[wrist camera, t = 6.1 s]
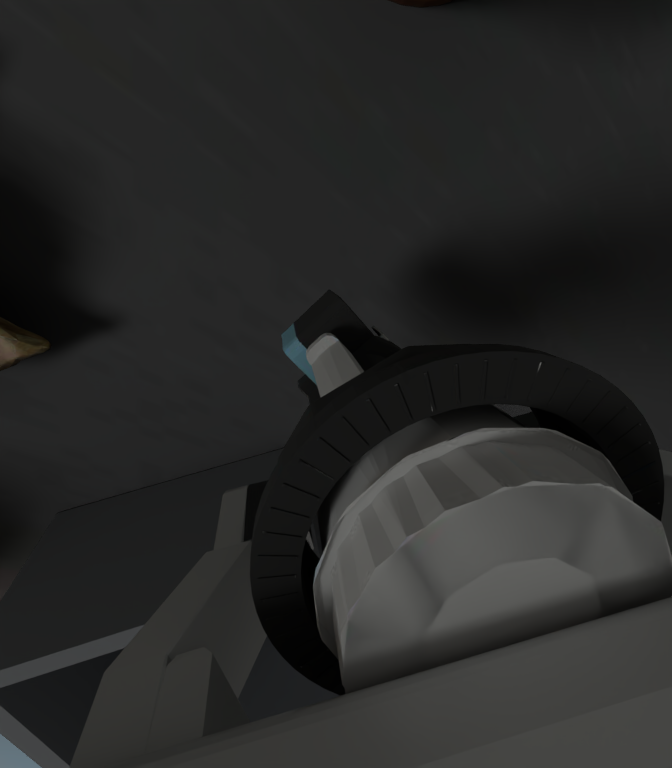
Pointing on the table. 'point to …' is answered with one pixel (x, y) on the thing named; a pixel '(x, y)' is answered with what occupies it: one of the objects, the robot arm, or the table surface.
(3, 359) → the ceramic sculpture
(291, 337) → the push button
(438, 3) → the food container
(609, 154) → the table surface
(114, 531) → the bin
